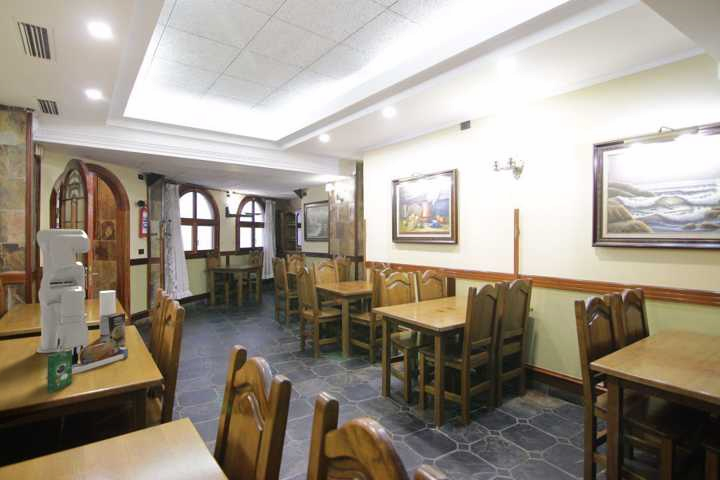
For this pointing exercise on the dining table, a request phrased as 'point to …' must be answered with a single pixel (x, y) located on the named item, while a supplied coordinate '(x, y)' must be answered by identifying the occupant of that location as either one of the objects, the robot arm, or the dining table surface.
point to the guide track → (99, 362)
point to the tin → (99, 352)
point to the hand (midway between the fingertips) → (73, 363)
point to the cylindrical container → (107, 303)
